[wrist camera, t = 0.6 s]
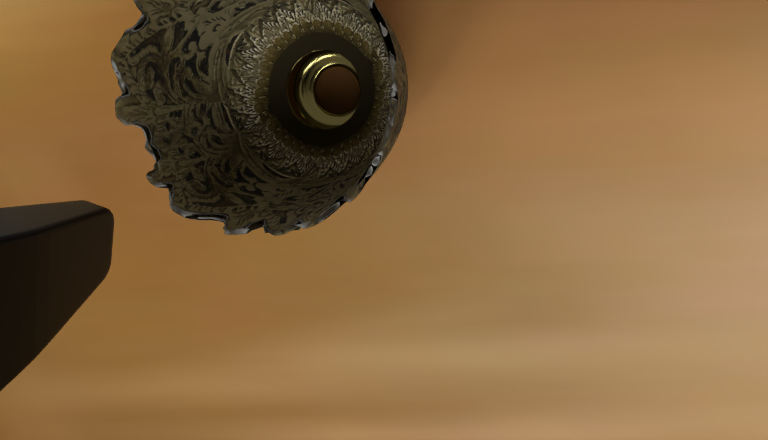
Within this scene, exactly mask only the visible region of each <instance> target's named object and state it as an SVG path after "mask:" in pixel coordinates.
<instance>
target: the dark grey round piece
mask: <svg viewBox="0 0 768 440" xmlns="http://www.w3.org/2000/svg"><path fill="white" fill-rule="evenodd" d="M134 2H135V4H136V6H137V7H138V9H139V10H140V11H141V12H142V16H141V17H140V19H139V21H138V22H137V23H136V25H134V26H133V27H132V28H129V29H127V30H126V31H125V32H124V34H123V36H122V37H121V39H120V40H119V42H118V44H117V45H116V47H115V48H114V50H113V51H112V54H111V63H112V67H113V69H114V72H115V74H116V76H117V78H118V84H119V86H120V88H121V91H122V95H121V96H119V97H118V98H117V99H116V101H115V110H116V117H117V118H118V119H119V120H120V121H121V122H122V123H123V124H125V125H130V124H131V125H135V126H137V127H139V128H142V130H143V132H144V135H145V136H146V143H145V148H146V149H147V151H148V152H149V153H150V154H152V155H153V157H154V159H155V160H156V163H155V165H154V169H153V170H152V171H150V172H148V173H147V175H146V177H147V179H148V181H149V182H150V183H151V184H153V185H154V186H156V187H160V188H169V199H170V204H169V205H170V207H171V209H172V210H173V211H174V212H175V213H177V214H179V215H181V216H183V217H185V218H189V219H196V220H216V221H221V222H224V224H225V226H224V227H223V229H224V230H225V234H227V235H237V234H247V233H249V232H250V231H252V230H254V229H258V228H260V227H263V228H264V231H265V233H270V234H272V235H275V236H277V235H283V234H286V233H288V232H290V231H292V230H299V229H300V228H301V227H302V228H303V229H305V228H309V227H312V226H314V225H316V224H318V223H320V222H321V221H323V220H325V219H326V218H327V217H329V216H330V215H331V214H333V213H334V212H335V211H336V210H337V209H338V208H339V207H340V206H342V205H343V204H344V203H345V202H347V201H349V202H351V201H352V200H353V199H355V198H356V197H357V195H358V194H359V193H360V192H361V190H362V189H363V187H364V186H365V184H366V183H367V181H368V180H369V179H370V178H371V176H372V175H373V174H374V173H375V172H376V170H377V169H378V168H379V167H380V165H381V164H382V163H383V161H384V160H385V158H386V157H387V155H388V154H389V152H390V151H391V149H392V147H393V145H394V143H395V142H396V140H397V138H398V135H399V133H400V130H401V127H402V124H403V121H404V117H405V113H406V106H407V98H408V80H407V71H406V65H405V60H404V57H403V53H402V50H401V47H400V45H399V42H398V40H397V38H396V35H395V33H394V32H393V30H392V28H391V26H390V24H389V23H388V21H387V19H386V18H385V17H384V15H383V14H382V12H381V11H380V9H379V8H378V7H377V5H376V4H375V1H374V0H134ZM331 67H343V68H346V69H348V70H349V71H351V72H352V73H353V74H354V75H355V77H356V79H357V81H358V83H359V89H360V91H359V98H358V100H357V102H356V104H355V105H354V107H353V108H351V109H350V110H349V111H347V112H345V113H341V114H334V113H330V112H328V111H326V110H324V109H323V108H322V107H321V106H320V105H319V103H318V101H317V99H316V96H315V84H316V81H317V79H318V77H319V75H320V74H321V73H322V72H323V71H324V70H326V69H328V68H331Z"/></svg>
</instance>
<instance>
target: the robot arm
mask: <svg viewBox="0 0 768 440" xmlns="http://www.w3.org/2000/svg"><path fill="white" fill-rule="evenodd" d="M113 230H114V217H113V214H112V213H111V211H110V210H109V209H107V208H104V207H102V206H99V205H96V204H94V203H91V202H88V201H84V200H79V201H68V202H58V203H47V204H36V205H26V206H15V207H5V208H0V391H1V390H2V389H3V388H4V387H5V386H6V385H7V384H9V383H10V382H11V381H12V380H13V379H14V378H15V377H16V376H17V375H18V374H19V373H20V372H21V371H22V370H23V369H24V368H25V367H26V366H27V365H28V364H29V363H31V362H32V361H33V360H34V359H35V358H36V356H37V355H38V354H39V353H40V352H41V351H42V350H43V349H44V348H45V347H46V346H47V345H48V343H49V342H50V341H51V340H52V339H53V338H54V337H55V335H56V334H57V333H58V332H59V331H60V330H61V328H62V327H63V326H64V325H65V324H66V323H67V322H68V320H69V319H70V318H71V317H72V316H73V315H74V313H75V312H76V311H77V310H78V309H79V308H80V307H81V305H82V304H83V303H84V302H85V301H86V300H87V298H88V297H89V296H90V295H91V294H92V293H93V292H94V290H95V289H96V288H97V287H98V286H99V285H100V283H101V282H102V281H103V280H104V278H105V277H106V275H107V273H108V271H109V268H110V265H111V257H112V243H113Z"/></svg>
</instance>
